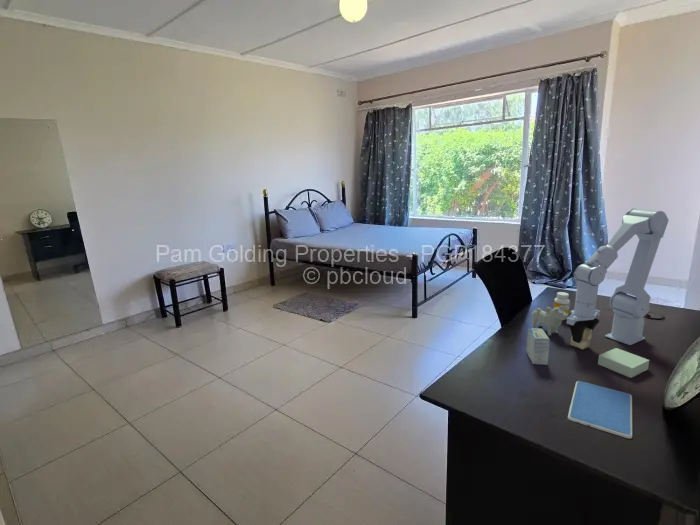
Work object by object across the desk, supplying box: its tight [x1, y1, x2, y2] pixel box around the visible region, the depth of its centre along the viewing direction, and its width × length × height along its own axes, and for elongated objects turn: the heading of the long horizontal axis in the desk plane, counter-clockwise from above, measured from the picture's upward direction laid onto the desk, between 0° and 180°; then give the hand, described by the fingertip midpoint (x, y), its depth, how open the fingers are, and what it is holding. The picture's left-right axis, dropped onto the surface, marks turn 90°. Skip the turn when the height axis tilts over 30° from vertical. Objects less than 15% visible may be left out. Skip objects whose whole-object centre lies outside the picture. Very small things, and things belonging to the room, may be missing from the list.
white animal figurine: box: [530, 306, 569, 336], centre depth 135 cm, size 5×13×11 cm, turn 28°
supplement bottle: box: [552, 291, 571, 315], centre depth 148 cm, size 5×5×10 cm
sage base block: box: [597, 347, 650, 379], centre depth 111 cm, size 9×9×3 cm
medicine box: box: [525, 327, 551, 366], centre depth 117 cm, size 8×4×9 cm, turn 168°
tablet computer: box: [567, 380, 633, 439], centre depth 94 cm, size 19×13×1 cm, turn 144°
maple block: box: [570, 328, 593, 350], centre depth 124 cm, size 4×4×6 cm
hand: (580, 340), depth 124 cm, fingers closed on maple block, 4 cm apart
